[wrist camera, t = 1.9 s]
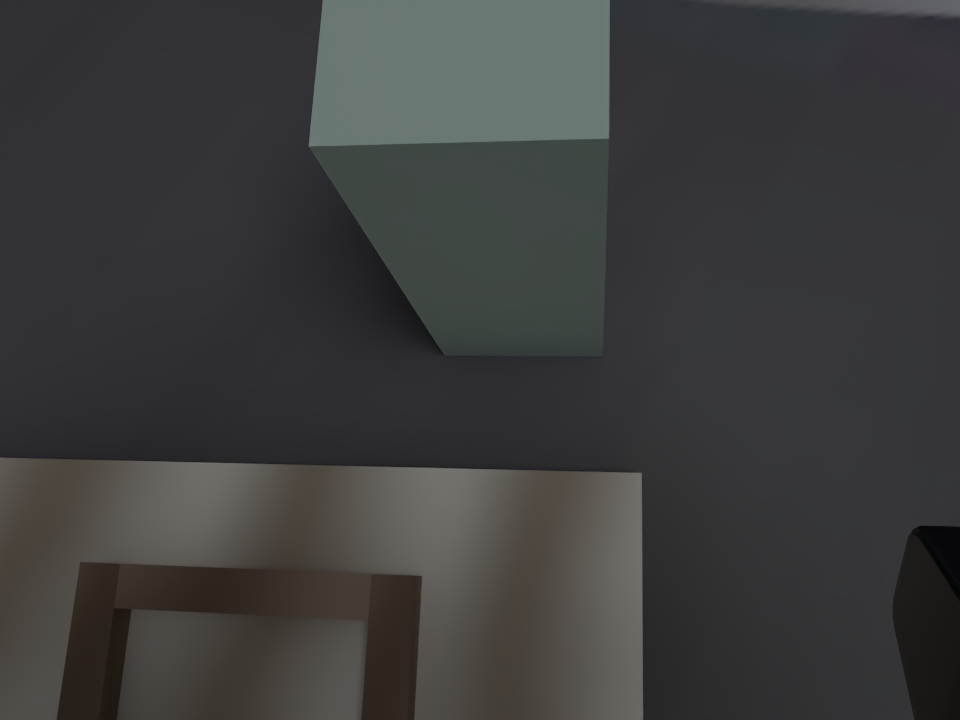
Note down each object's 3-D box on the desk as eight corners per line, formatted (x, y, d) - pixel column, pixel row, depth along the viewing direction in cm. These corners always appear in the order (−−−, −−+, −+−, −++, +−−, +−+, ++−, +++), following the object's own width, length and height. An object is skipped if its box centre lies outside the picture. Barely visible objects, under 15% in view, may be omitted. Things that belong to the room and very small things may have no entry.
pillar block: (603, 208, 23) (610, -121, 12) (602, 357, 22) (608, 138, 11) (452, 210, 23) (333, -102, 13) (444, 355, 22) (308, 146, 12)
